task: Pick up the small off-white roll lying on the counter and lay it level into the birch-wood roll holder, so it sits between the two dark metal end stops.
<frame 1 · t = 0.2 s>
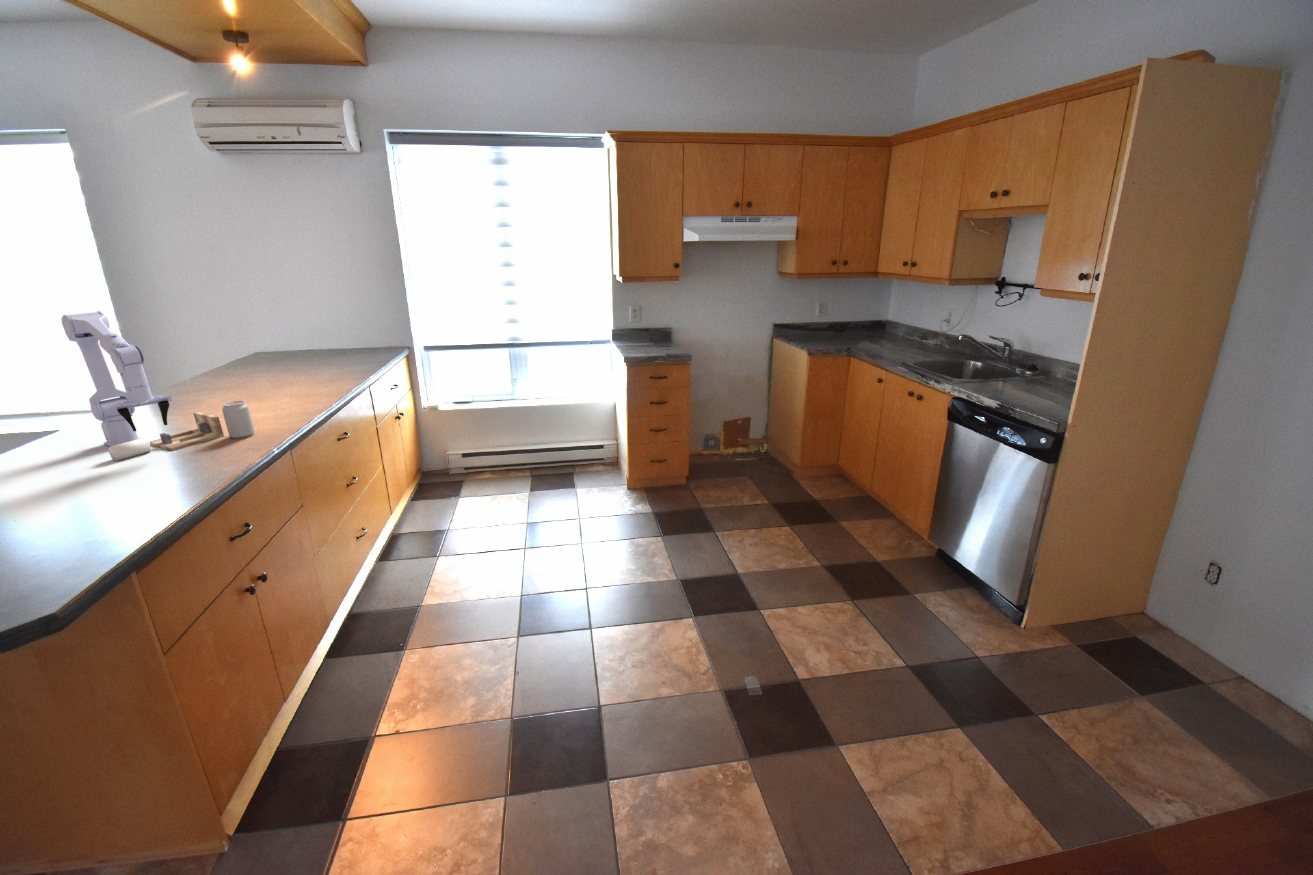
hand: (150, 427, 187), 10 cm above the countertop, fingers open, 7 cm apart
roll: (132, 456, 191), on the countertop
roll holder: (187, 440, 204), on the countertop
can: (242, 436, 208), on the countertop
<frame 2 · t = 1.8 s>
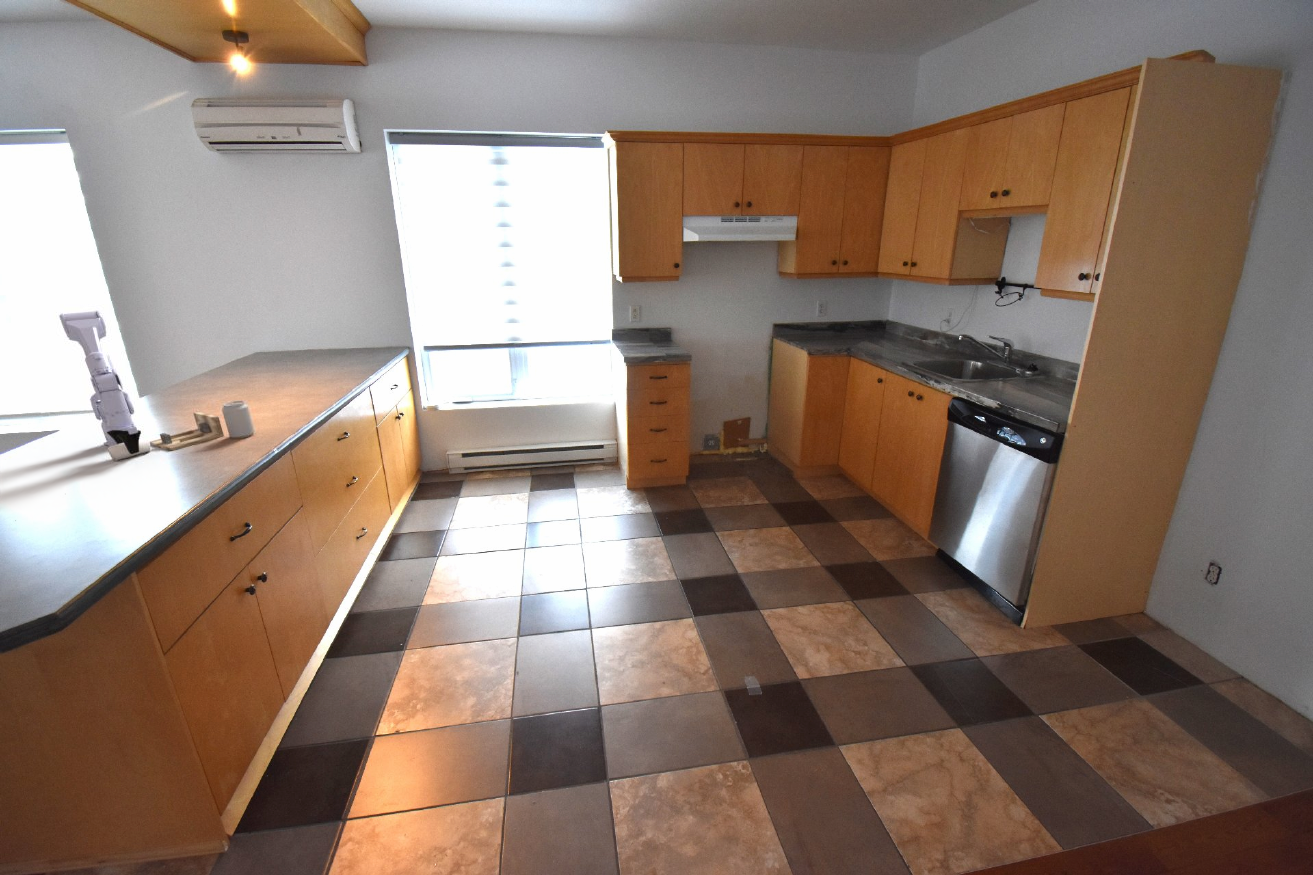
hand: (130, 451, 191), 1 cm above the countertop, fingers closed on roll, 5 cm apart
roll: (132, 455, 191), on the countertop, touching gripper
everything else where it was.
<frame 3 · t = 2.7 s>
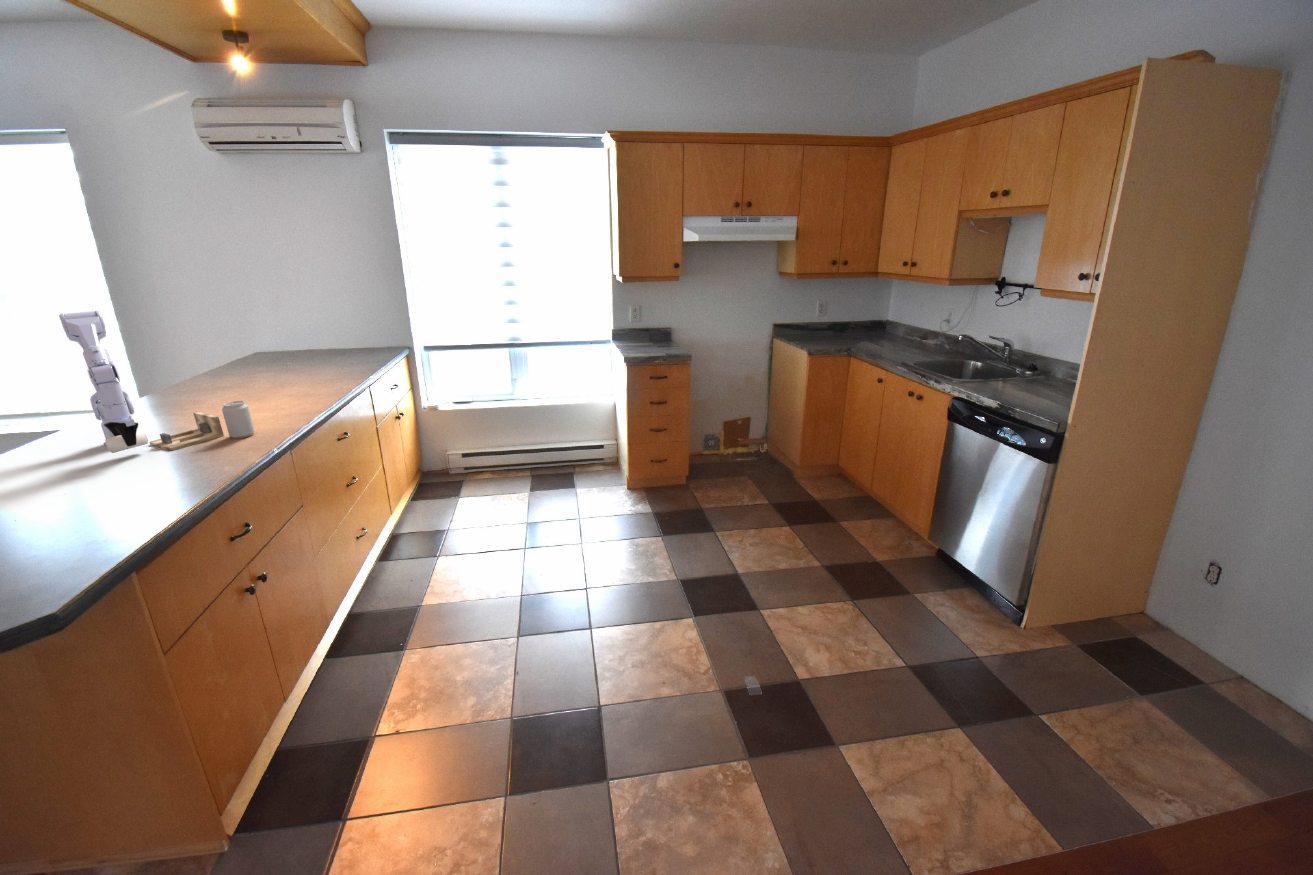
hand: (127, 444, 190), 4 cm above the countertop, fingers closed on roll, 5 cm apart
roll: (129, 448, 190), point 3 cm above the countertop, touching gripper
everything else where it was.
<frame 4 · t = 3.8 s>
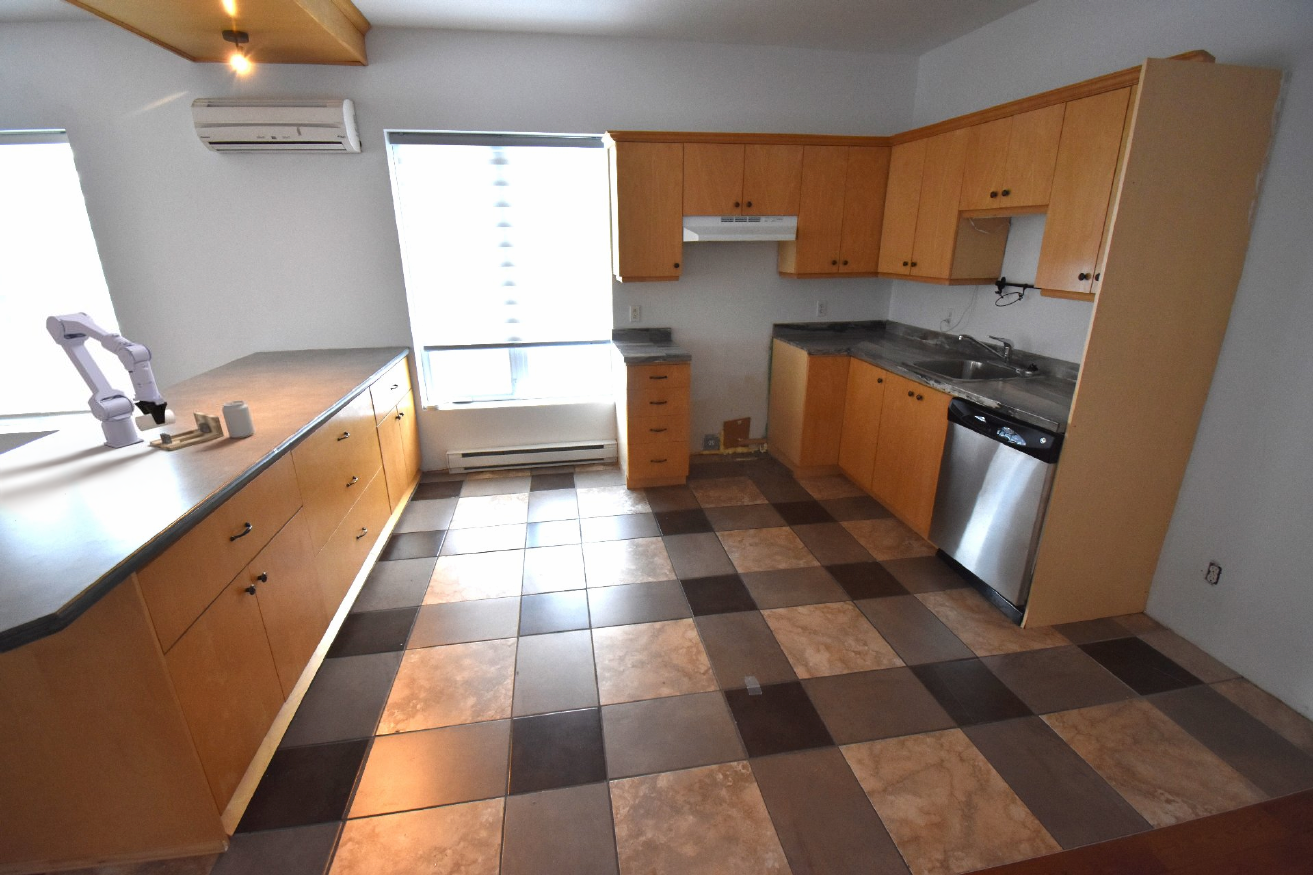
hand: (157, 422, 196), 8 cm above the countertop, fingers closed on roll, 5 cm apart
roll: (157, 427, 196), point 7 cm above the countertop, touching gripper
everything else where it was.
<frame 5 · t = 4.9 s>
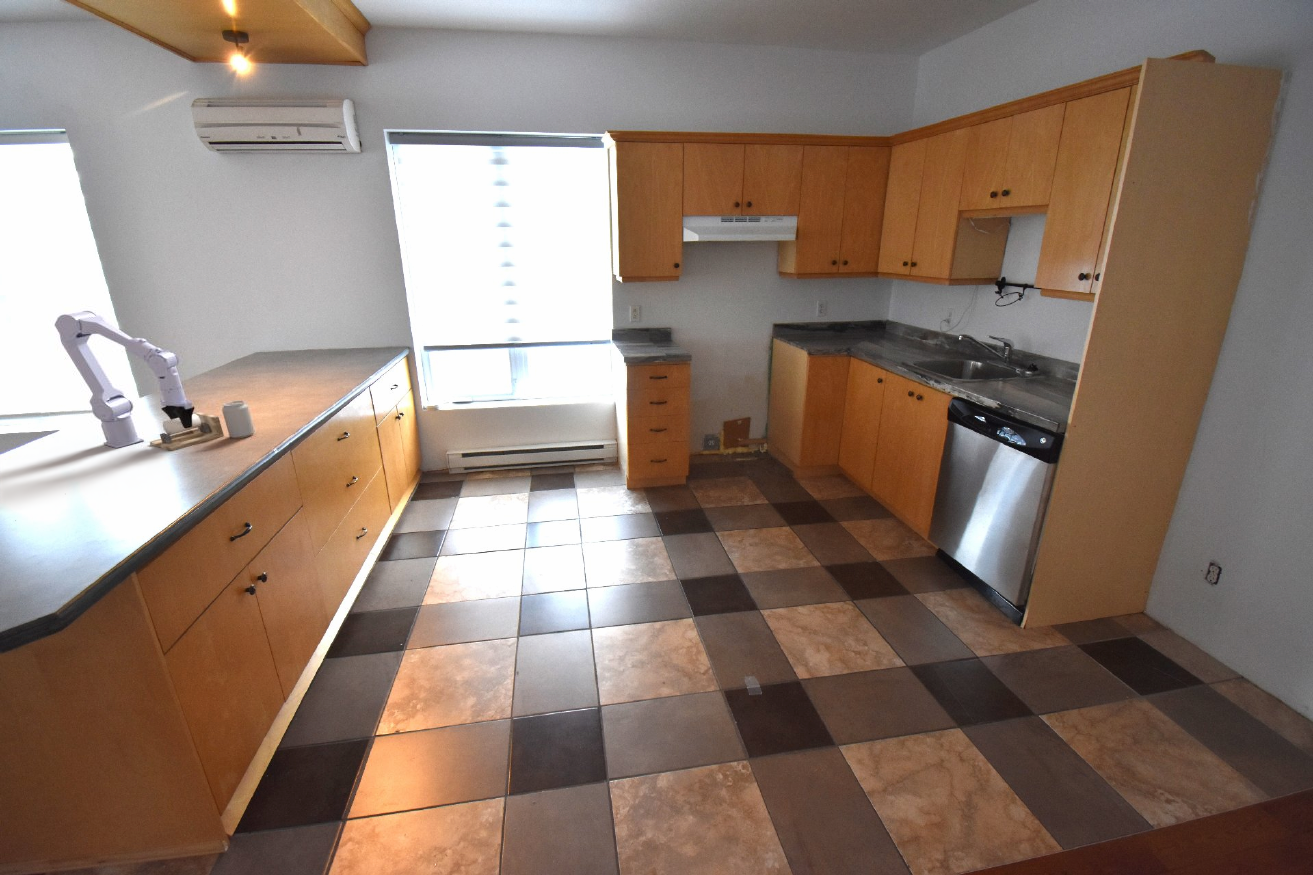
hand: (183, 426, 203), 5 cm above the countertop, fingers closed on roll, 5 cm apart
roll: (184, 430, 203), point 3 cm above the countertop, touching gripper
everything else where it was.
when the fingers open (4 cm above the countertop, at t = 5.6 s): roll drops 1 cm, resting on roll holder.
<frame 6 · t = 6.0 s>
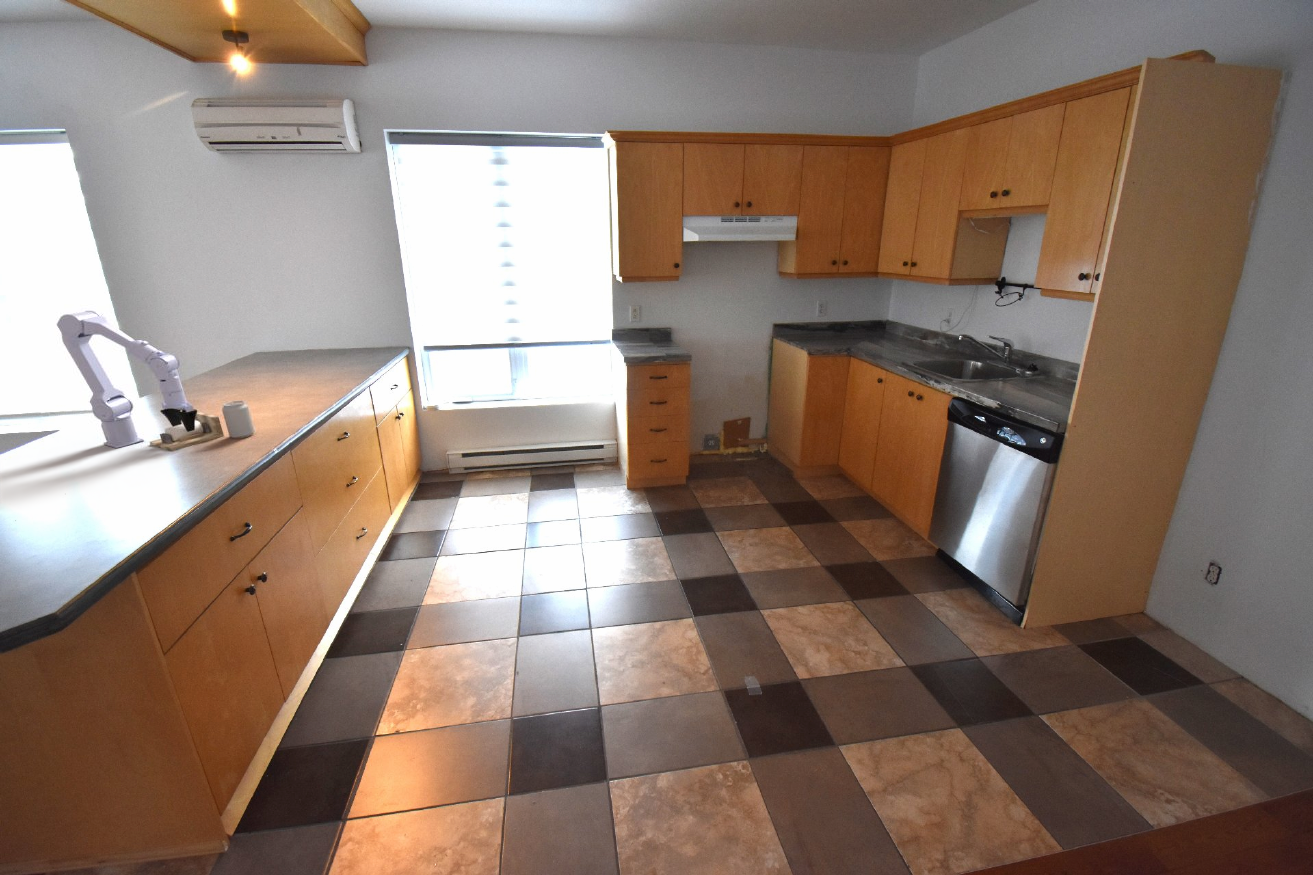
hand: (184, 429, 203), 4 cm above the countertop, fingers open, 7 cm apart
roll: (186, 437, 204), point 1 cm above the countertop, touching roll holder
everything else where it was.
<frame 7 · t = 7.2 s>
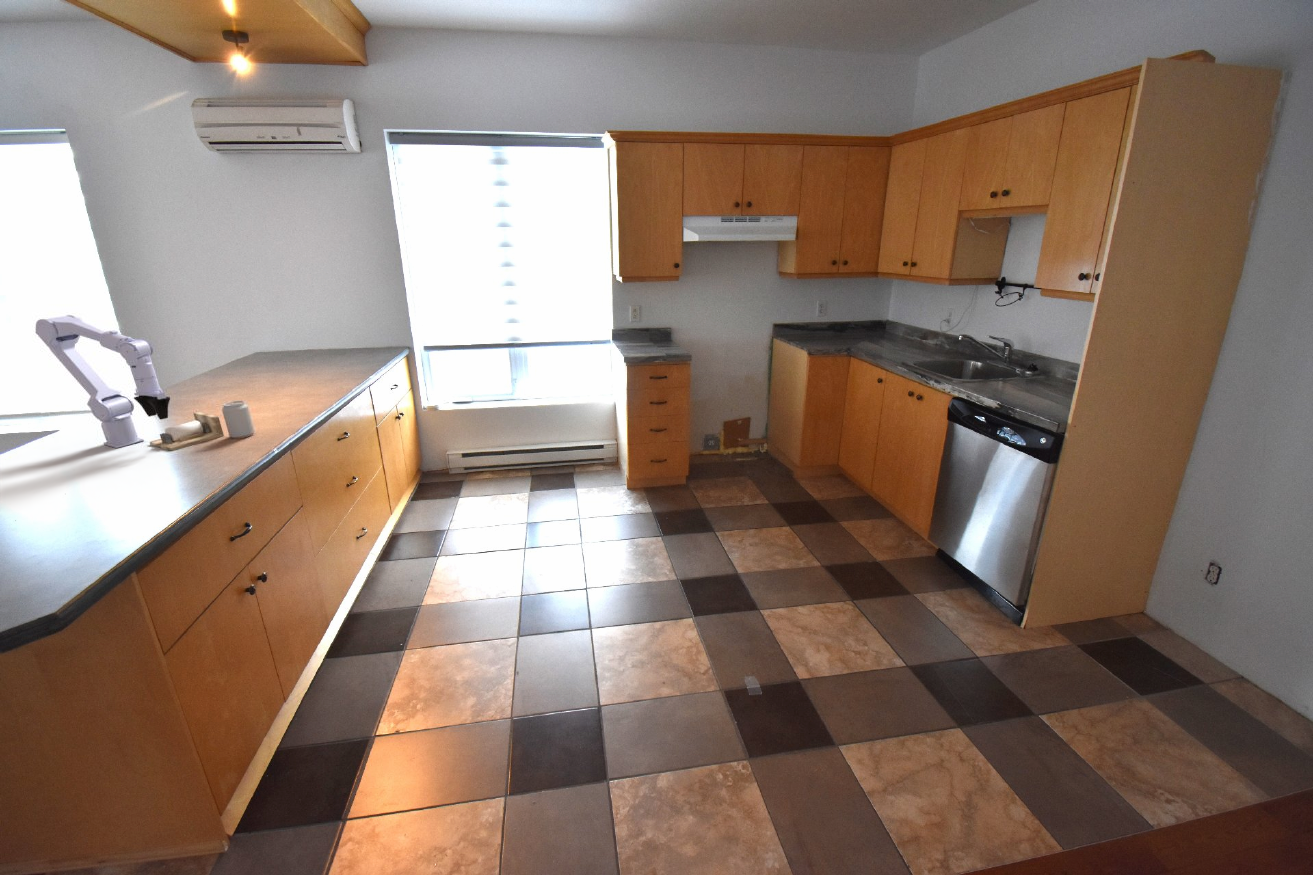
hand: (158, 417, 198), 9 cm above the countertop, fingers open, 7 cm apart
nothing on the countertop moved.
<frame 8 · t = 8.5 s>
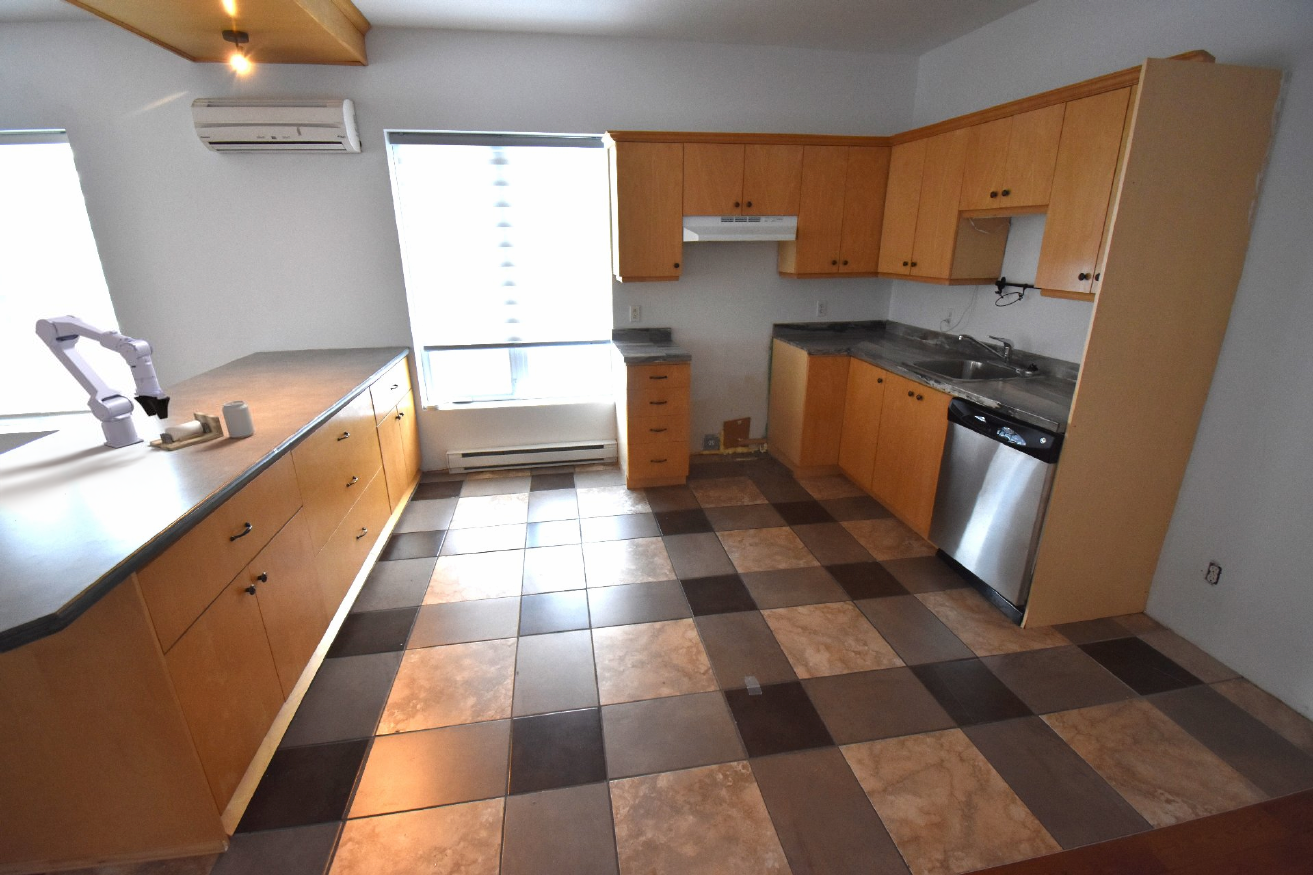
hand: (158, 417, 198), 9 cm above the countertop, fingers open, 7 cm apart
nothing on the countertop moved.
at the end: roll 0.2 cm from the target spot, point 1.0 cm above the countertop; roll touching roll holder; the gripper is holding nothing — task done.
